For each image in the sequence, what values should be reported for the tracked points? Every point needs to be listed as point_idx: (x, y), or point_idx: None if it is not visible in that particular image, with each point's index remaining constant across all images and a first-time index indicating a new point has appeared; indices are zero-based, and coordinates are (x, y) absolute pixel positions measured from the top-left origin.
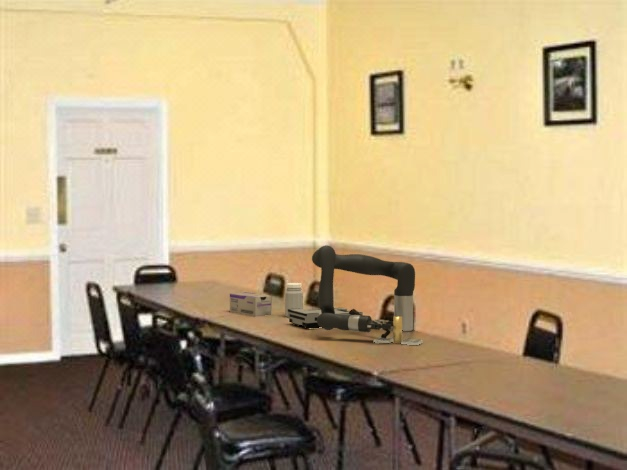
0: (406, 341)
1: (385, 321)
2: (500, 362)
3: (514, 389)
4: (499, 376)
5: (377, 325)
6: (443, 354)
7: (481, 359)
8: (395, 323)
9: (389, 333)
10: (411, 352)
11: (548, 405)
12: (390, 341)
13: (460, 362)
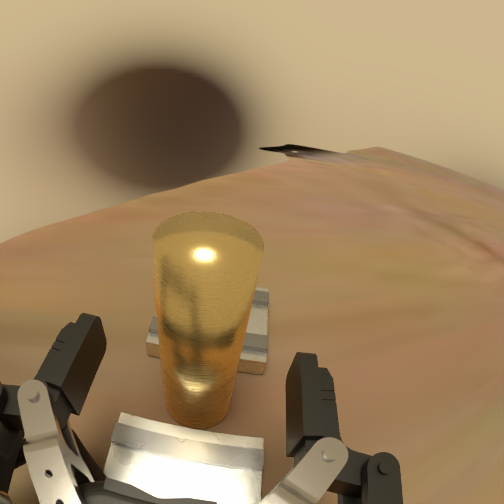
0: (247, 336)
1: (56, 426)
2: (380, 183)
3: (490, 203)
4: (461, 201)
5: (390, 478)
6: (379, 236)
7: (377, 195)
8: (250, 310)
9: (77, 438)
10: (417, 305)
11: (501, 199)
12: (233, 438)
13: (431, 220)
